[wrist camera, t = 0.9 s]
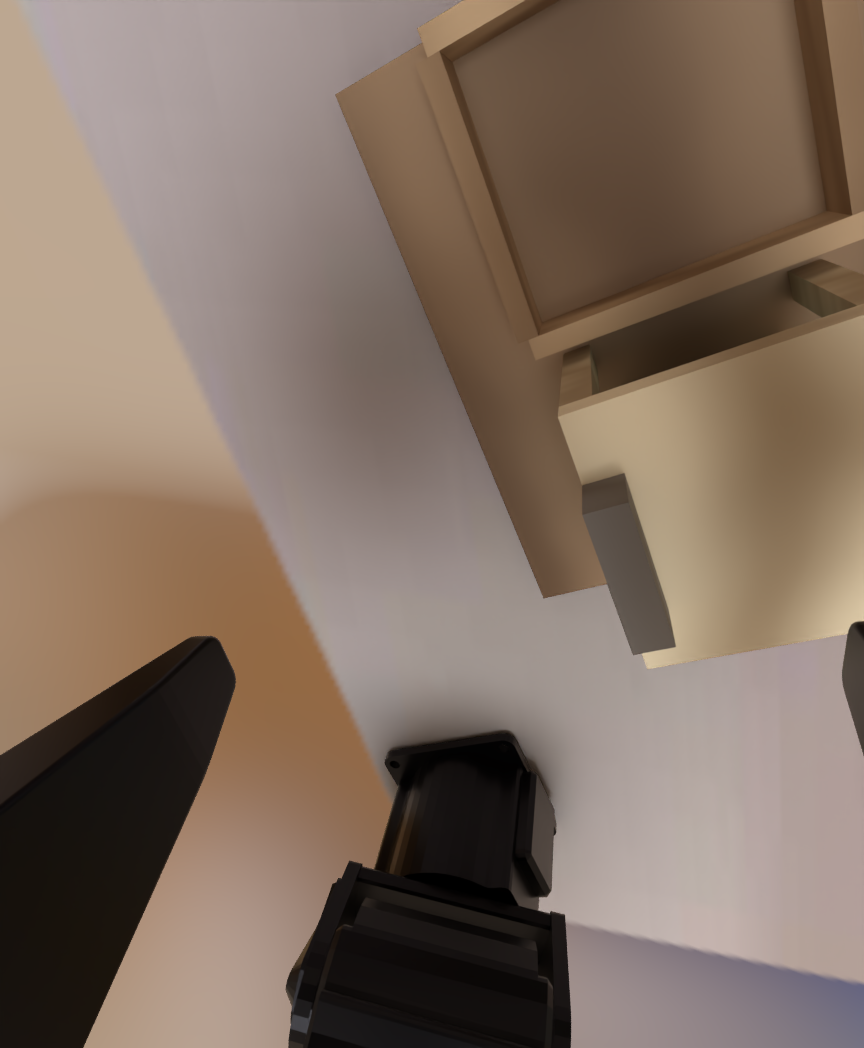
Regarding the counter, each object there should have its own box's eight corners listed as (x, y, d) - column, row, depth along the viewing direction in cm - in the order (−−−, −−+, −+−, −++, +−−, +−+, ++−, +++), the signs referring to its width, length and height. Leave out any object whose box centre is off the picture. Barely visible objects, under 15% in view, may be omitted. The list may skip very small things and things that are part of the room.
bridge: (632, 558, 22) (652, 709, 16) (563, 353, 19) (555, 441, 13) (861, 503, 20) (990, 657, 13) (821, 258, 17) (961, 311, 11)
